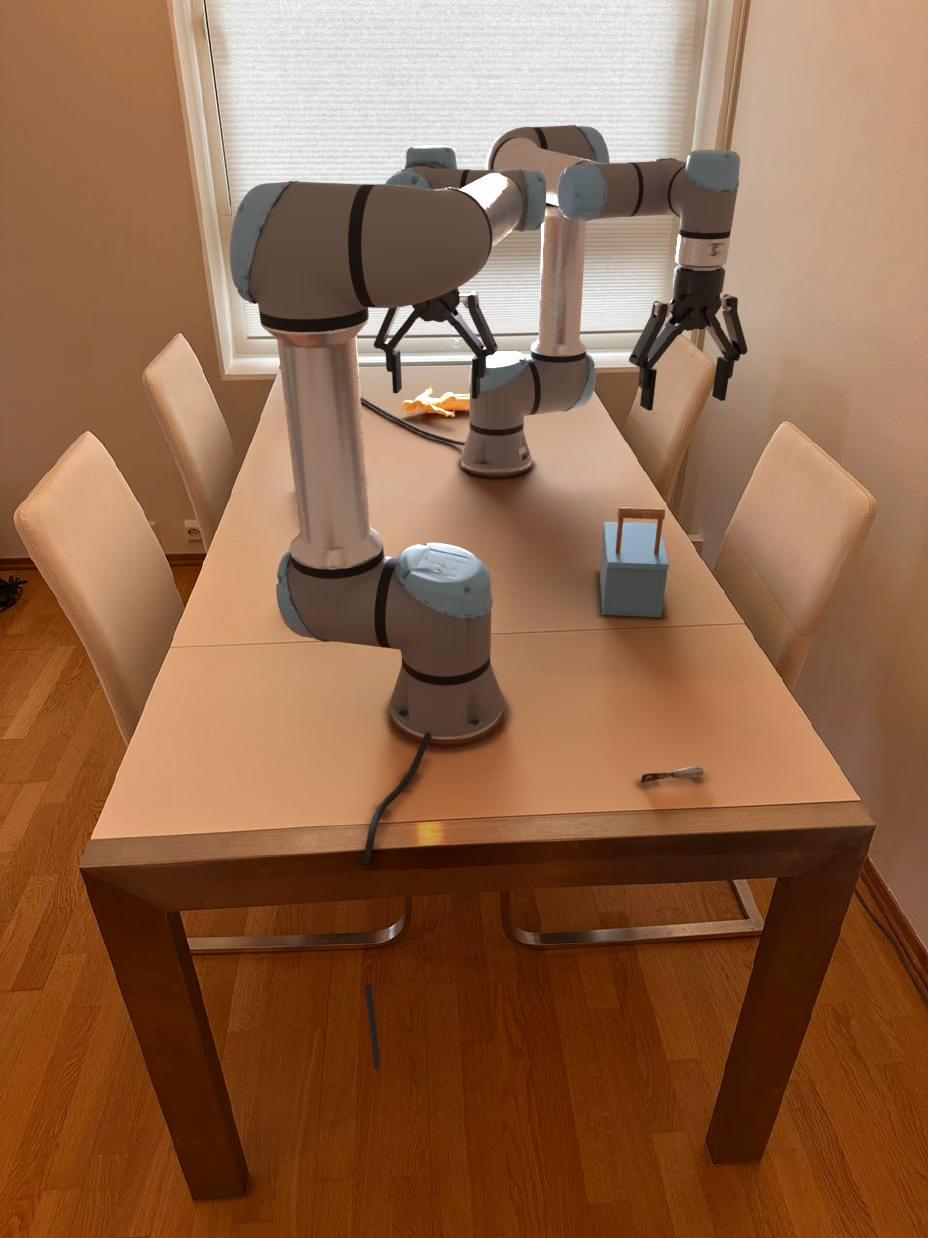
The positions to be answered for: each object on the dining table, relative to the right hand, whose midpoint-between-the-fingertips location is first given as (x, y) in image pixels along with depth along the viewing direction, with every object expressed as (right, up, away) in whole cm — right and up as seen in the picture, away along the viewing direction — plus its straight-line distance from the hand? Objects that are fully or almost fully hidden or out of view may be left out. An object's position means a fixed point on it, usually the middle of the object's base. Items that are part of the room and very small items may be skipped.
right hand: (682, 403), depth 146 cm
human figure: (-39, +17, +80) cm, 91 cm away
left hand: (-40, +2, +3) cm, 41 cm away
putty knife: (-10, -55, -37) cm, 67 cm away
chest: (-9, -31, +1) cm, 32 cm away
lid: (-9, -24, -4) cm, 26 cm away
